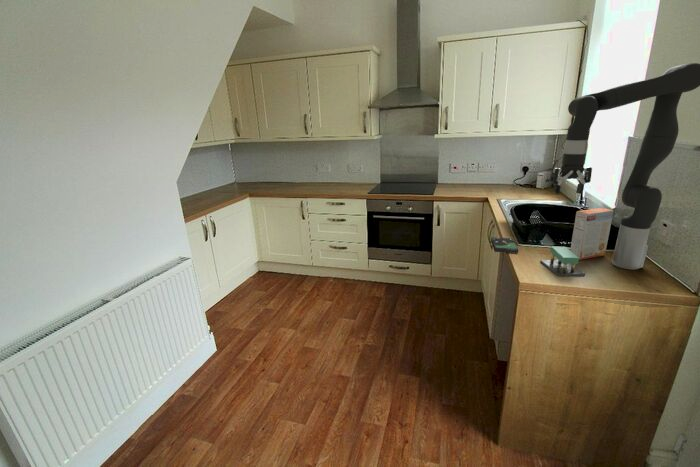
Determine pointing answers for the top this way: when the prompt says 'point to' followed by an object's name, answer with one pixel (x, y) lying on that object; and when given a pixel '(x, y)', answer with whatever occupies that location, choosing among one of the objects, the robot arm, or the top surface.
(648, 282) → the top surface
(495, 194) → the top surface
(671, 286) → the top surface
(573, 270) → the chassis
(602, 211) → the cracker box
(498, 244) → the disk drive
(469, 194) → the top surface
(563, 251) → the board
